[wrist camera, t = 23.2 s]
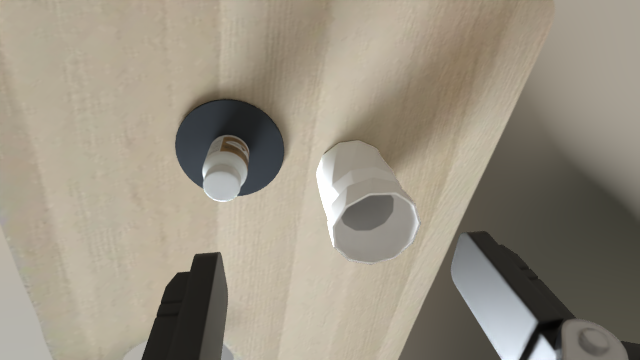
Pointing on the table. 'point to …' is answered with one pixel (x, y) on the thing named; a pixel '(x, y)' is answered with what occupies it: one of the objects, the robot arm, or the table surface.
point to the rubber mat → (236, 122)
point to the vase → (365, 204)
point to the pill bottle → (225, 168)
